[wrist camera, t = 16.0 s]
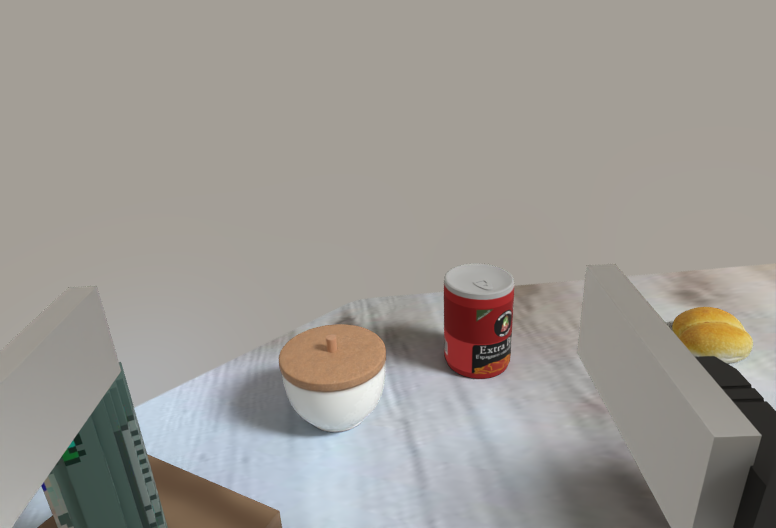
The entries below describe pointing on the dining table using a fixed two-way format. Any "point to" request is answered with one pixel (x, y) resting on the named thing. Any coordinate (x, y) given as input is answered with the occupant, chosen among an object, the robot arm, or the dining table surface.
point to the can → (106, 471)
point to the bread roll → (713, 334)
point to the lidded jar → (334, 375)
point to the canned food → (478, 319)
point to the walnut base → (202, 502)
